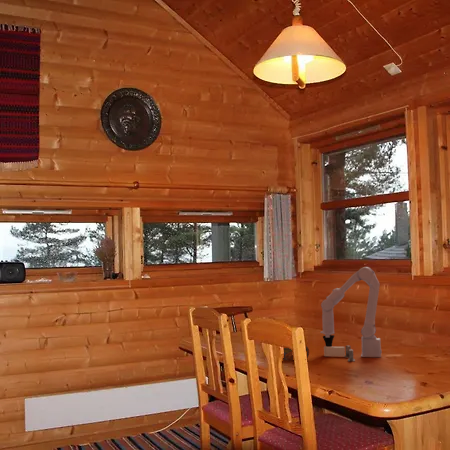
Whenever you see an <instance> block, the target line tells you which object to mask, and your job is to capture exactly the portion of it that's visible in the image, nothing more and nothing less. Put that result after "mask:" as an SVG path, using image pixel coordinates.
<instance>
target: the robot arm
mask: <svg viewBox="0 0 450 450" xmlns="http://www.w3.org/2000/svg"><path fill="white" fill-rule="evenodd" d="M359 281H363V282H365V283H366V284H367V285H368V287H369V289H368V296H367V305H366V311H365V319H364V322H363V327H361V331H360V333H361V337H360V338H361V355H360V357H361V358H381V357H382V353H383V352H382V346H381V345H382V344H381V343H382V341H381V338H380V337H378V338H377V336H376V335H375V334H376V332H377V327H376V314H377V307H378V300H379V292H380V285H381V284H380V281H379V279H378V278H377V275H376V273H375V271H374V270H373V269H372V268H371V267H370V266H364V267H361V268H359V270H357V271H355V272H353V274H352V275H351V276H350V277H349V278H348V279H347V280H346V281H345V283H343V284H342V285H341V287H339V288H338V287H336V288H333V289H332V291H331V293H330V294H329V295H328V296H327V295H326V297H325V298H326V299H324V300H323V299H322V302H321V304H320V306H321V310H322V311H321V312H322V315H321V319H322V331H320V334H323V336H322V339H323V341H324V343H325V346H327V347H333V341H334V338H335V335H334V334H336V333H335V318H334V316H335V314H334V307H335V306H337V305H338V303H339V302H340V301H342V300H343V298H344V297H345V295H346V294H345V293H346V292H347V291H348V290H349V289H350V288H351V287H352V286H353V285H354V284H356V283H357V282H359Z"/></svg>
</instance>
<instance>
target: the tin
mask: <svg viewBox="0 0 450 450" xmlns="http://www.w3.org/2000/svg"><path fill="white" fill-rule="evenodd" d="M306 351H307V359H308V357H309V355H310V349H309V346H307V345H306ZM282 360H284V361H289V360H293V355H292V350H291V349H289V348H284V358H283V359H282Z"/></svg>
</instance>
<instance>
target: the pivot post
mask: <svg viewBox="0 0 450 450" xmlns="http://www.w3.org/2000/svg"><path fill="white" fill-rule="evenodd" d="M350 349H352V347H351V345H349V344H348V345H345V357H344V358H346V359H347V358H348V359H349V350H350Z"/></svg>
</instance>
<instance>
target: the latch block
mask: <svg viewBox="0 0 450 450" xmlns="http://www.w3.org/2000/svg"><path fill="white" fill-rule="evenodd" d="M355 361H356V359H355V358H354V349H352V348H351V349H350V350H349V358H348V359H347V362H354V363H355Z"/></svg>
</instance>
